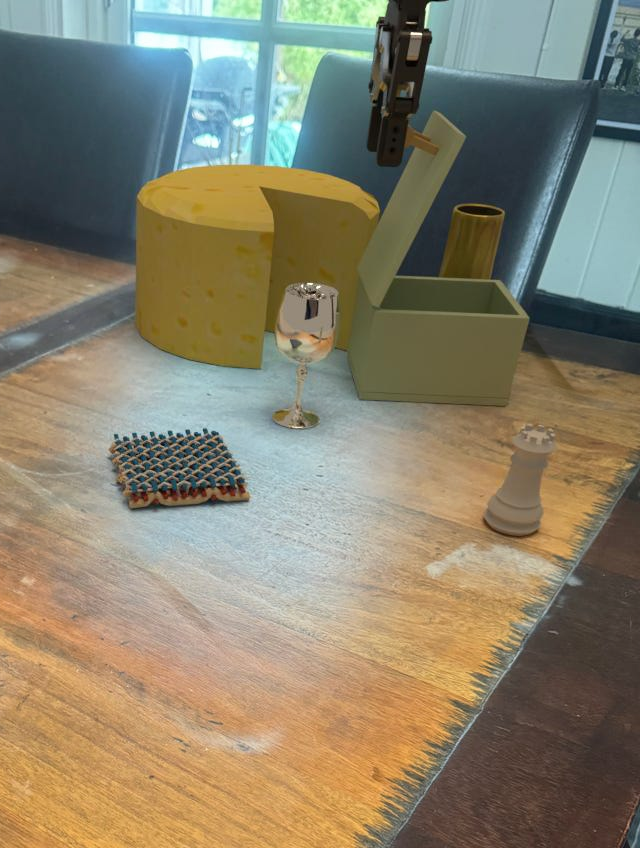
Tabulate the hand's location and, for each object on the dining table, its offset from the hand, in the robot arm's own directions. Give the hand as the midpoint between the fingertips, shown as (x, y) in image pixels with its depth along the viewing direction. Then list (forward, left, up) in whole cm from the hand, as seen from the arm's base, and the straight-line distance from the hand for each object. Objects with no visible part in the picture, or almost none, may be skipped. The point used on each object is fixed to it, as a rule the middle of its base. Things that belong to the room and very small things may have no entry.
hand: (382, 157), depth 86 cm
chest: (-8, 0, -21) cm, 22 cm away
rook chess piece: (-10, +29, -21) cm, 37 cm away
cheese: (+10, -14, -21) cm, 27 cm away
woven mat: (+17, +24, -21) cm, 36 cm away
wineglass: (+6, +11, -21) cm, 24 cm away
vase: (-13, -11, -21) cm, 27 cm away
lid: (-3, 0, -4) cm, 5 cm away
